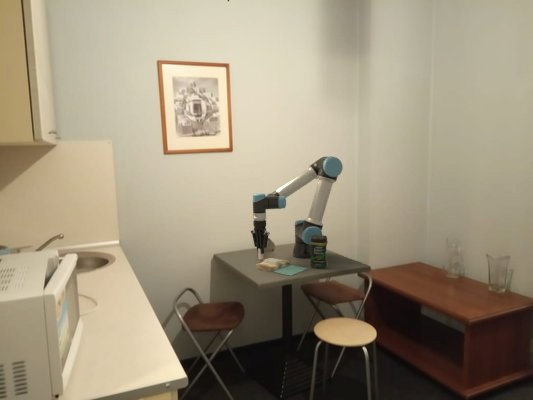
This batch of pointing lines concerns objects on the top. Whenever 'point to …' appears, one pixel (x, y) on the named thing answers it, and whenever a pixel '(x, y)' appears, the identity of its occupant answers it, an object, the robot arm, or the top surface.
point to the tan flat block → (271, 266)
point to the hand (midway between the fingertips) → (260, 258)
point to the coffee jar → (319, 251)
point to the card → (272, 261)
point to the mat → (290, 270)
